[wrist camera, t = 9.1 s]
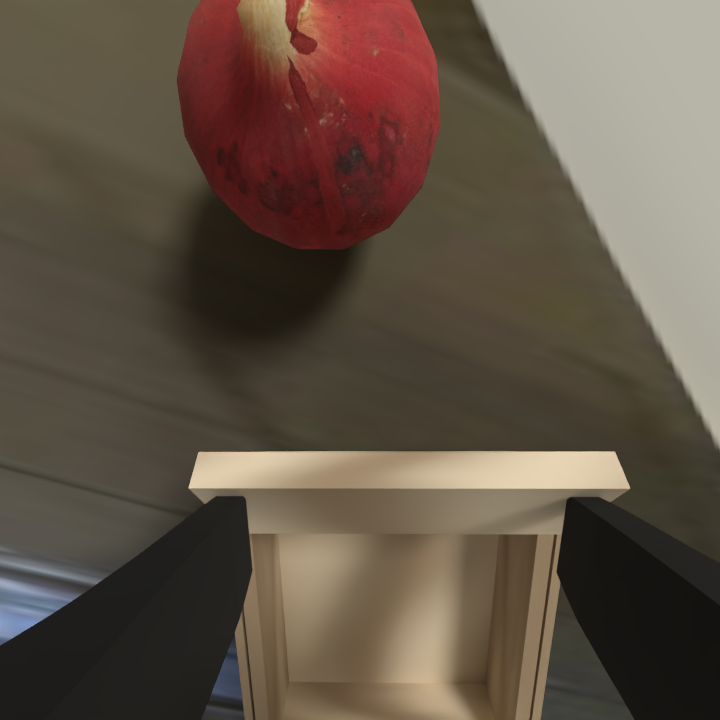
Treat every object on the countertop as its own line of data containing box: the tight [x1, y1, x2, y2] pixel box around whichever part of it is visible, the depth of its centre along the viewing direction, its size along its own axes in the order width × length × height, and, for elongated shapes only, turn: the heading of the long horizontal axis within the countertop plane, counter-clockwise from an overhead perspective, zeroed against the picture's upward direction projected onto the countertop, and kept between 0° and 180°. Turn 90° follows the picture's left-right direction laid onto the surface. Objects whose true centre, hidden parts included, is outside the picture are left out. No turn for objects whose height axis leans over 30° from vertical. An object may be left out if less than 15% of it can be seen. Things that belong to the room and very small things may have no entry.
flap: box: [189, 452, 630, 535], centre depth 10 cm, size 9×4×1 cm
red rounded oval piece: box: [177, 0, 440, 250], centre depth 9 cm, size 6×6×8 cm
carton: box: [235, 451, 562, 720], centre depth 15 cm, size 11×12×4 cm
